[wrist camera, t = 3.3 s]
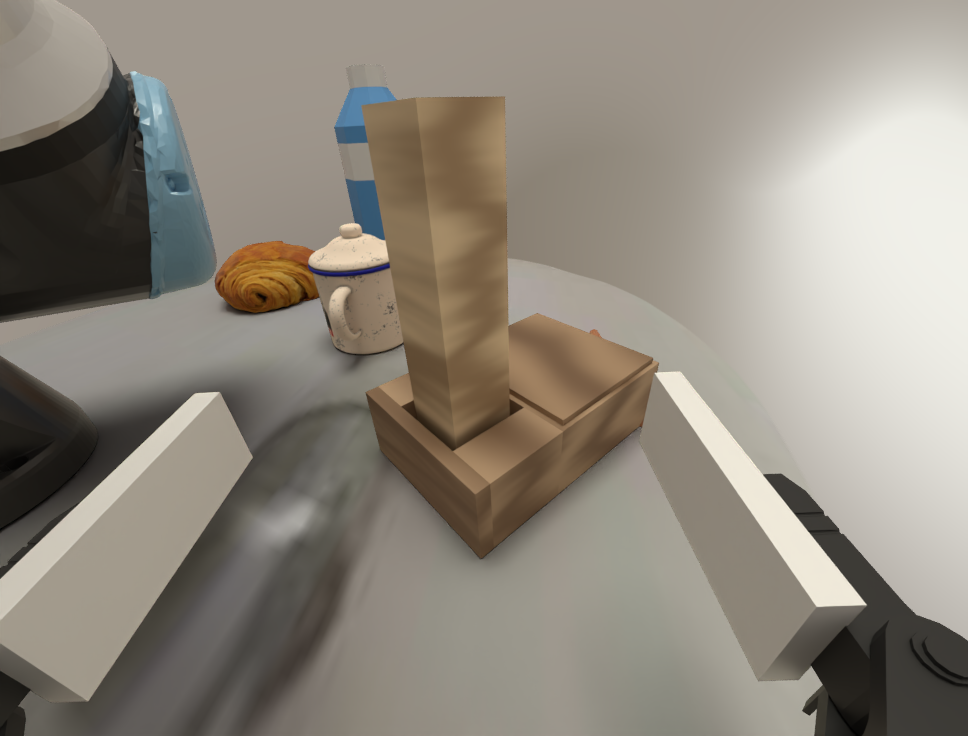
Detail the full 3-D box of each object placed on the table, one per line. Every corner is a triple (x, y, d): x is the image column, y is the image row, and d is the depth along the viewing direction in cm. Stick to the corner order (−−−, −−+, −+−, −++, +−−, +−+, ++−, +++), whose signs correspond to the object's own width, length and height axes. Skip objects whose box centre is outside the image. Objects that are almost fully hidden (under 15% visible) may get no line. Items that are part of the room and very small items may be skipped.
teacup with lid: (349, 318, 47) (323, 216, 41) (423, 317, 46) (408, 213, 40) (303, 373, 37) (259, 248, 31) (397, 373, 36) (372, 245, 30)
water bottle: (430, 268, 62) (405, 70, 48) (436, 289, 54) (408, 59, 40) (369, 275, 60) (327, 73, 47) (366, 297, 52) (315, 62, 39)
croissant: (218, 336, 50) (184, 279, 45) (247, 280, 62) (223, 229, 56) (334, 318, 52) (314, 262, 47) (341, 267, 63) (326, 217, 58)
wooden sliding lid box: (480, 558, 20) (474, 488, 17) (380, 449, 28) (364, 386, 25) (646, 420, 29) (660, 357, 26) (536, 364, 36) (537, 310, 33)
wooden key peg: (462, 502, 23) (415, 97, 13) (425, 465, 26) (361, 105, 15) (510, 467, 26) (504, 96, 15) (471, 437, 28) (443, 103, 18)
